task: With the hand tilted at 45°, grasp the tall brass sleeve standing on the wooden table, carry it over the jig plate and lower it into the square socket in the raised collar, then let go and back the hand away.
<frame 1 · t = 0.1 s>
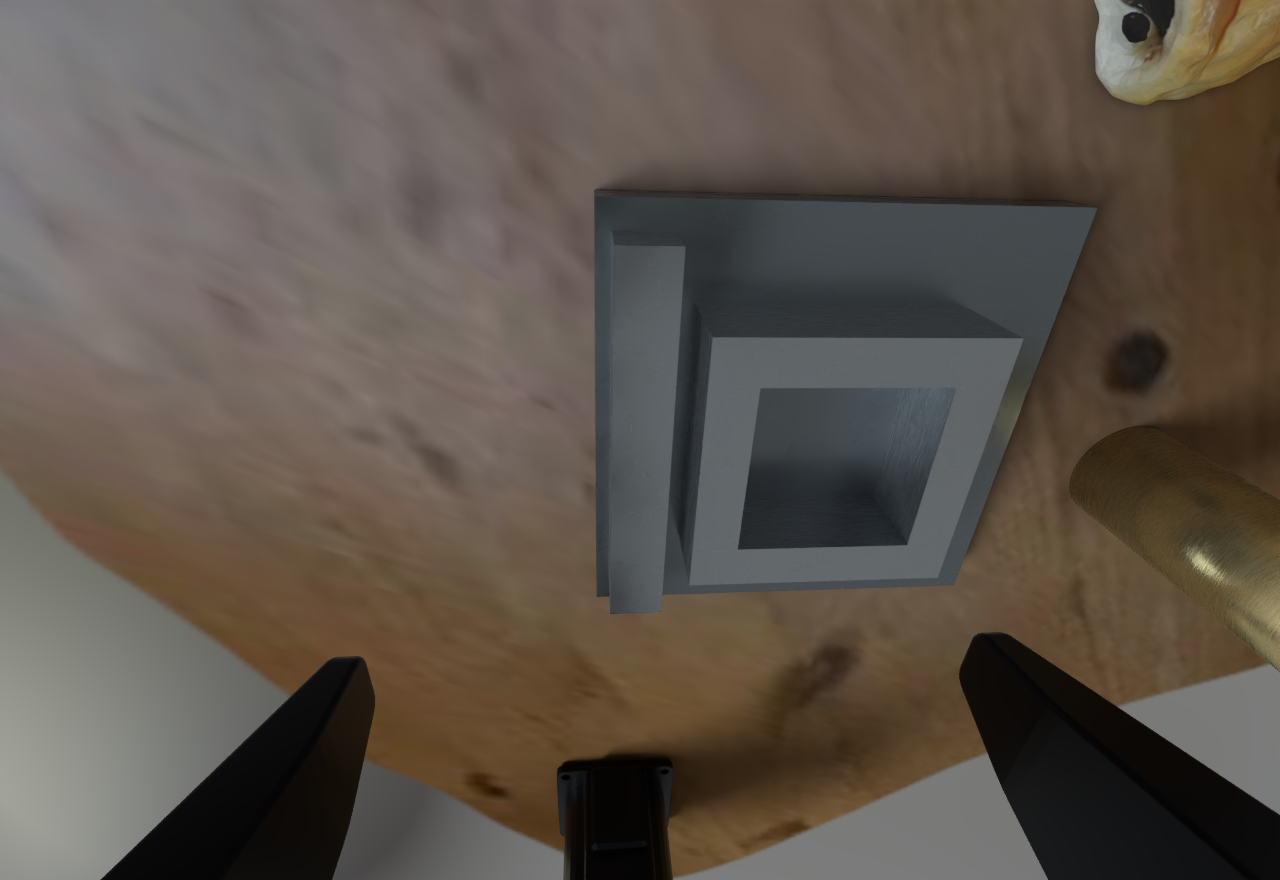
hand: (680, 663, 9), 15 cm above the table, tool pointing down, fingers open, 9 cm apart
sleeve: (1119, 470, 27), on the table
jig: (798, 412, 24), on the table
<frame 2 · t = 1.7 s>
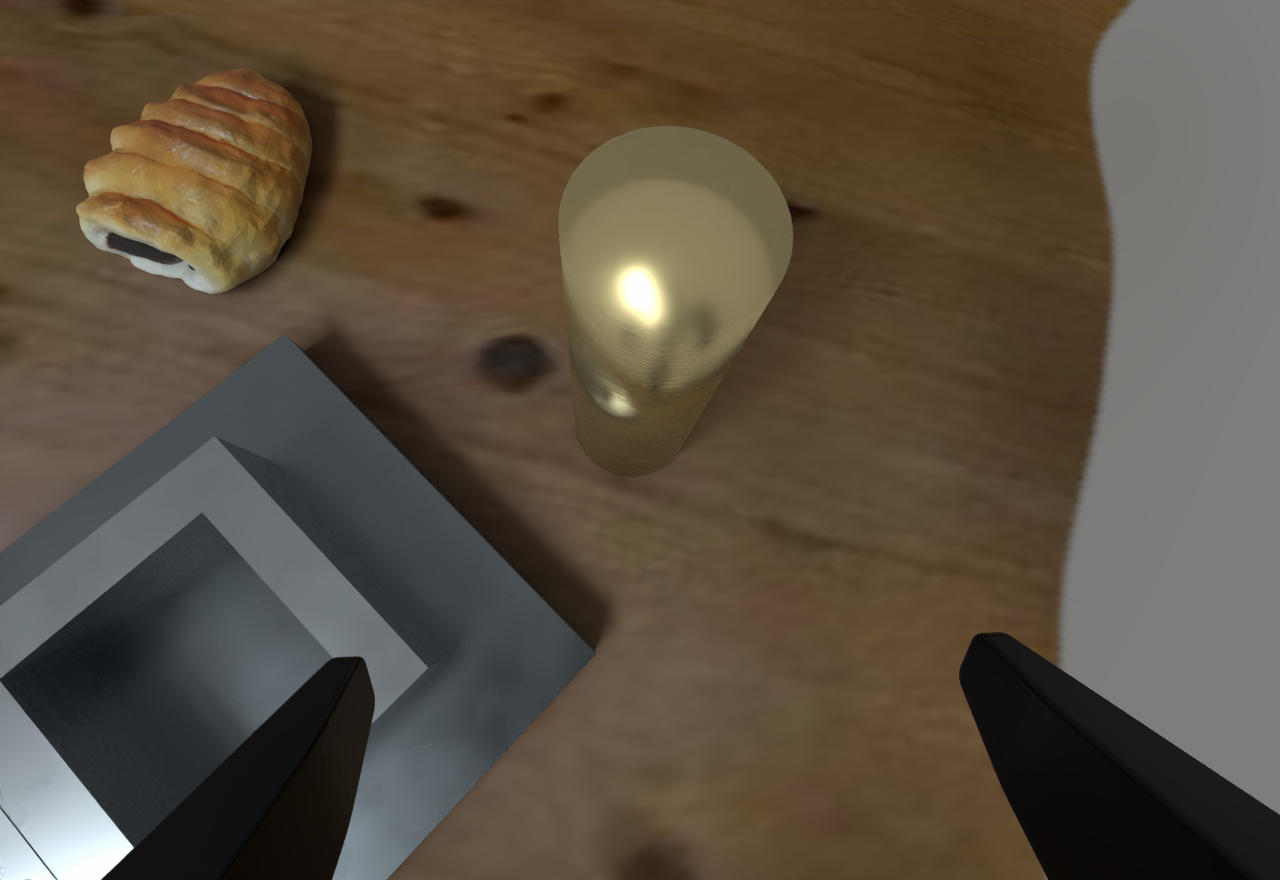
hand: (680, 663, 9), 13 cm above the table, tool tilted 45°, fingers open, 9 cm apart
pastry: (225, 209, 25), on the table
sleeve: (631, 421, 24), on the table
jig: (262, 658, 21), on the table
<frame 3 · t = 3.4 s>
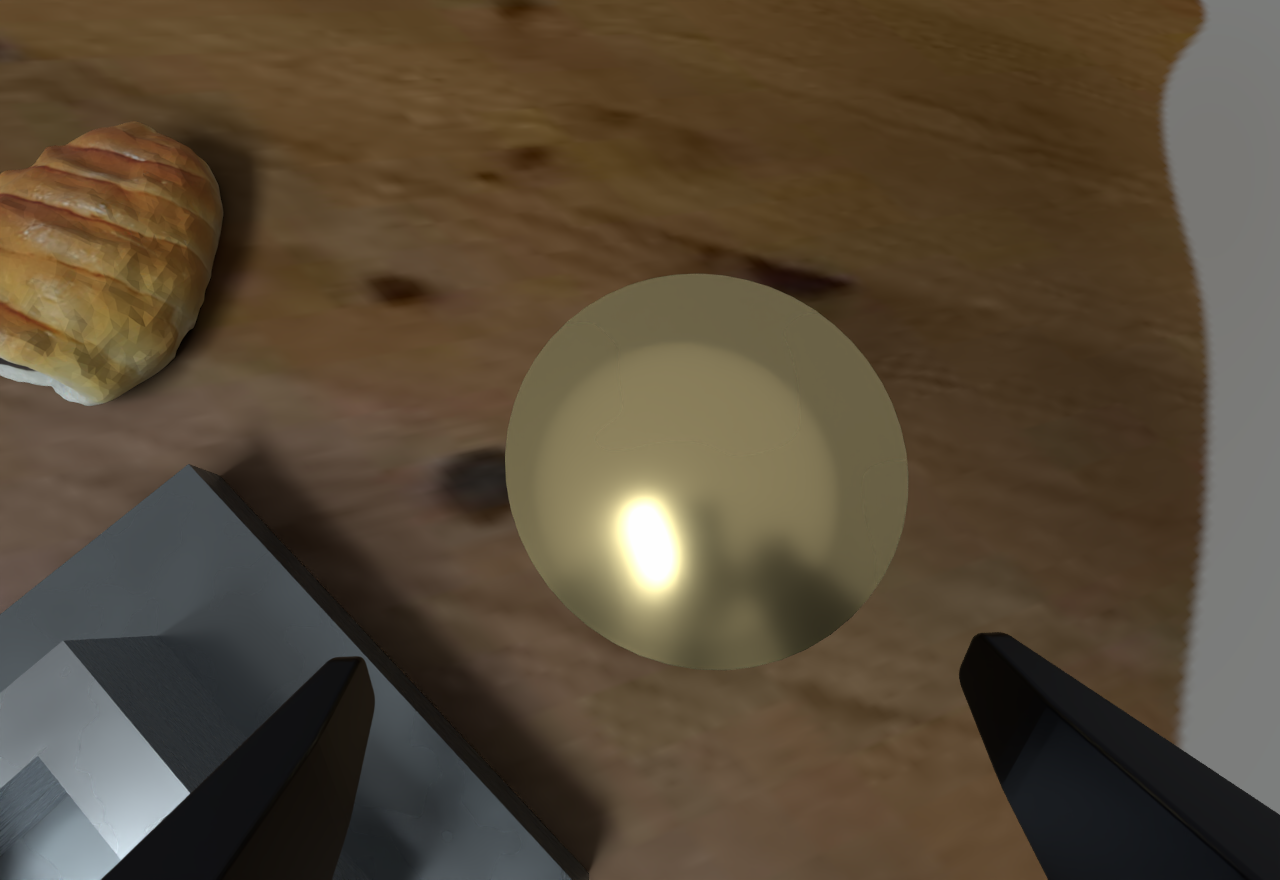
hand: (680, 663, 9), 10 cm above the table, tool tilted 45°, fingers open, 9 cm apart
pastry: (116, 294, 20), on the table
sleeve: (631, 558, 19), on the table
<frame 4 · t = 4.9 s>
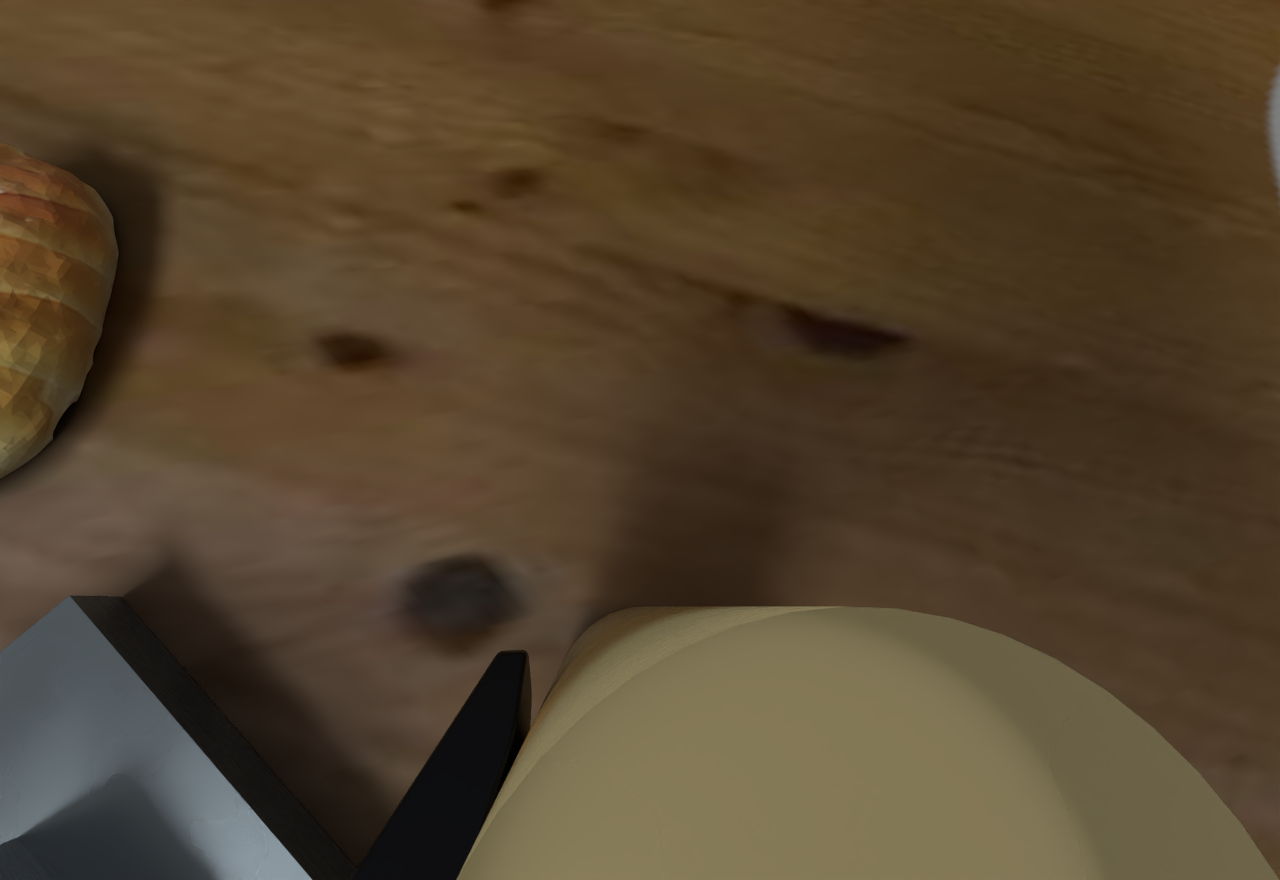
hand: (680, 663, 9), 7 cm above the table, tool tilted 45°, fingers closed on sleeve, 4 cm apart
sleeve: (643, 697, 15), on the table, touching gripper
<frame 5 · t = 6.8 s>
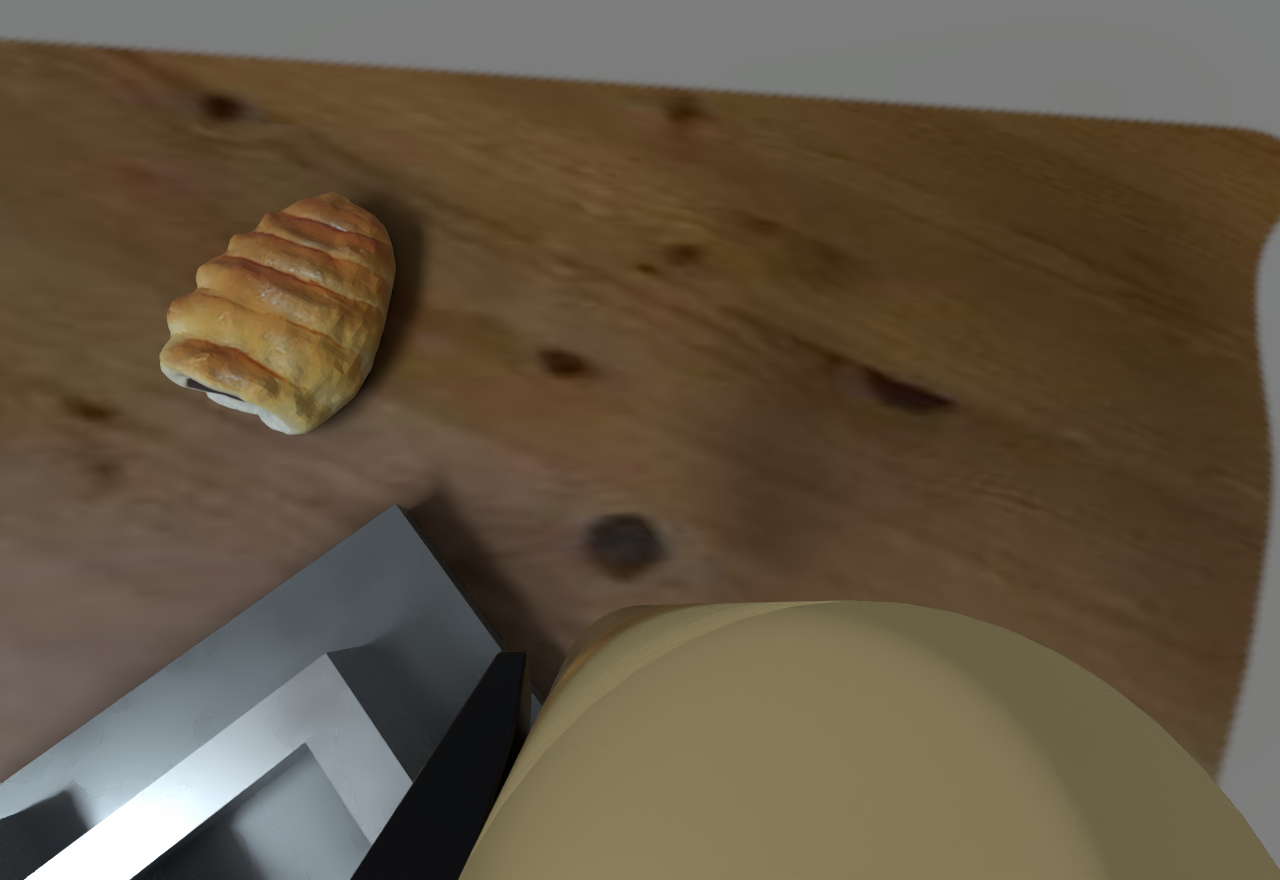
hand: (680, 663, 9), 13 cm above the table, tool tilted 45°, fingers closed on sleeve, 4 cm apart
pastry: (303, 335, 24), on the table
sleeve: (644, 696, 15), point 7 cm above the table, touching gripper
jig: (334, 860, 19), on the table
when the fingers open (10 cm above the table, at t = 9.0 s): sleeve drops 1 cm, resting on jig.
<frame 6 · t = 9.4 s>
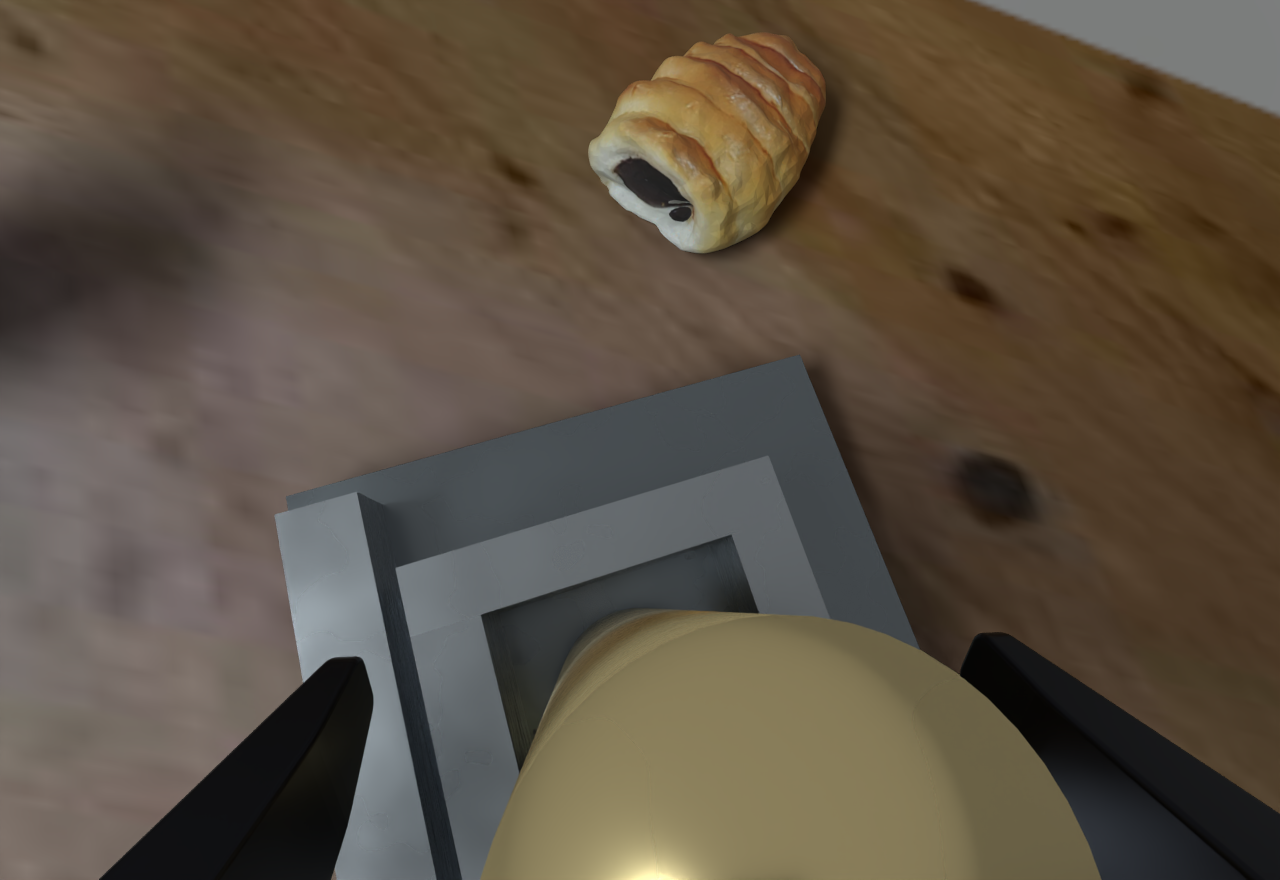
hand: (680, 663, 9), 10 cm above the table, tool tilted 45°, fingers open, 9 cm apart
pastry: (702, 168, 24), on the table
sleeve: (639, 691, 16), point 2 cm above the table, touching jig
jig: (635, 683, 18), on the table
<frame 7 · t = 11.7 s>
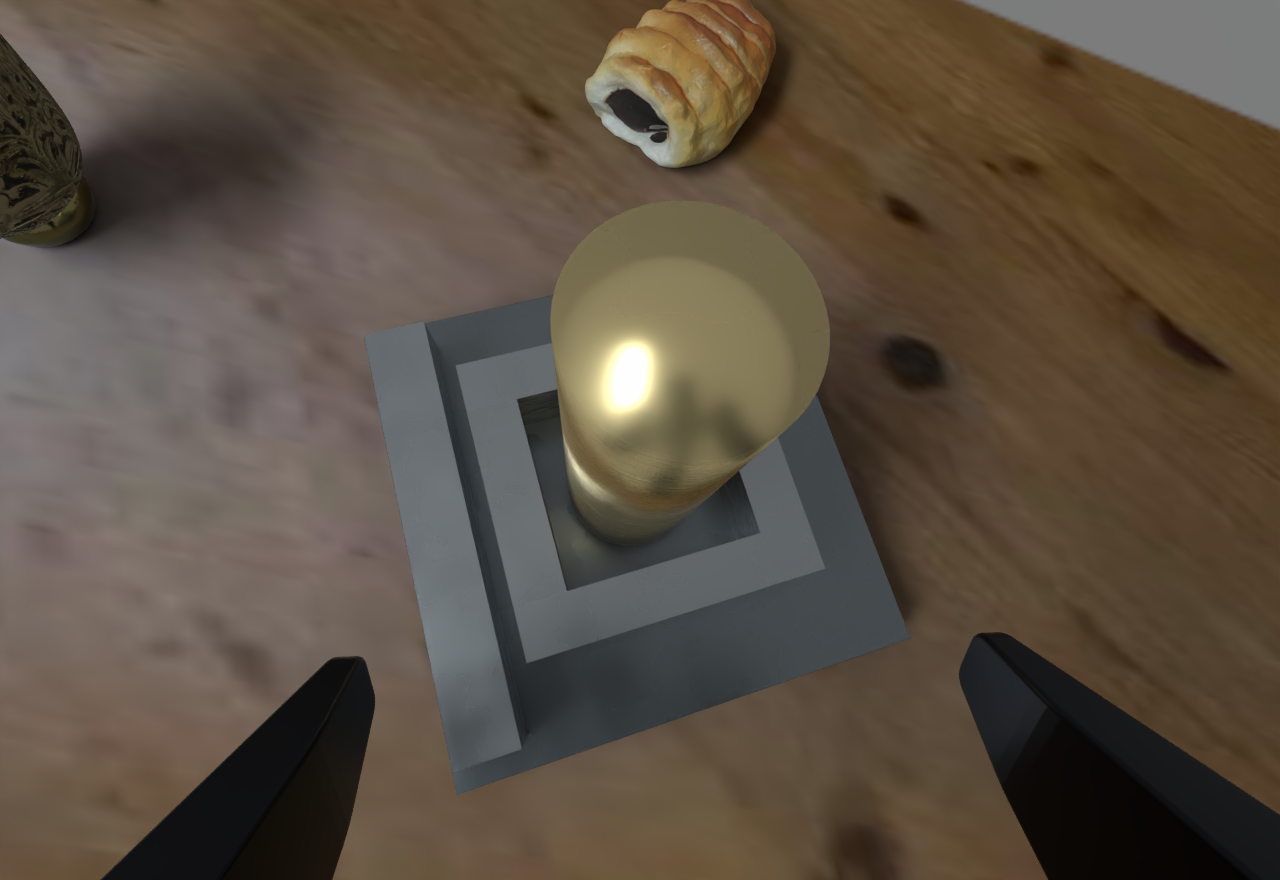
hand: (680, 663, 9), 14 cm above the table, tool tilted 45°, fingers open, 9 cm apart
pastry: (677, 105, 29), on the table
cup: (59, 218, 24), on the table
sleeve: (629, 484, 22), point 2 cm above the table, touching jig
jig: (627, 491, 23), on the table
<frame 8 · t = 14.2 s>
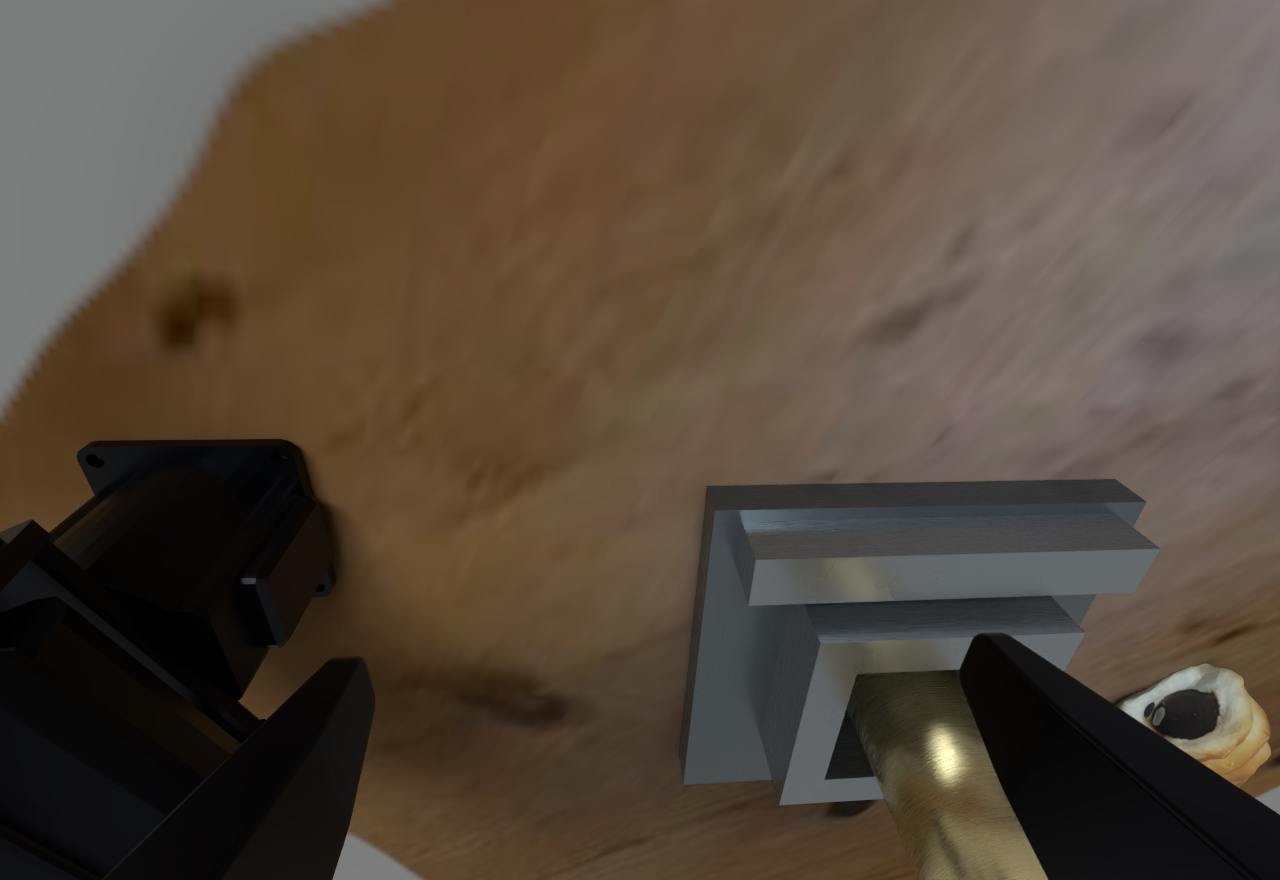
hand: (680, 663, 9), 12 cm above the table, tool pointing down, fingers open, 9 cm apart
pastry: (1161, 710, 32), on the table
sleeve: (884, 661, 25), point 2 cm above the table, touching jig
jig: (870, 634, 27), on the table
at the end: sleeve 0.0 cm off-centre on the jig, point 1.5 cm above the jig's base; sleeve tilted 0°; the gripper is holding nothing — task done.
